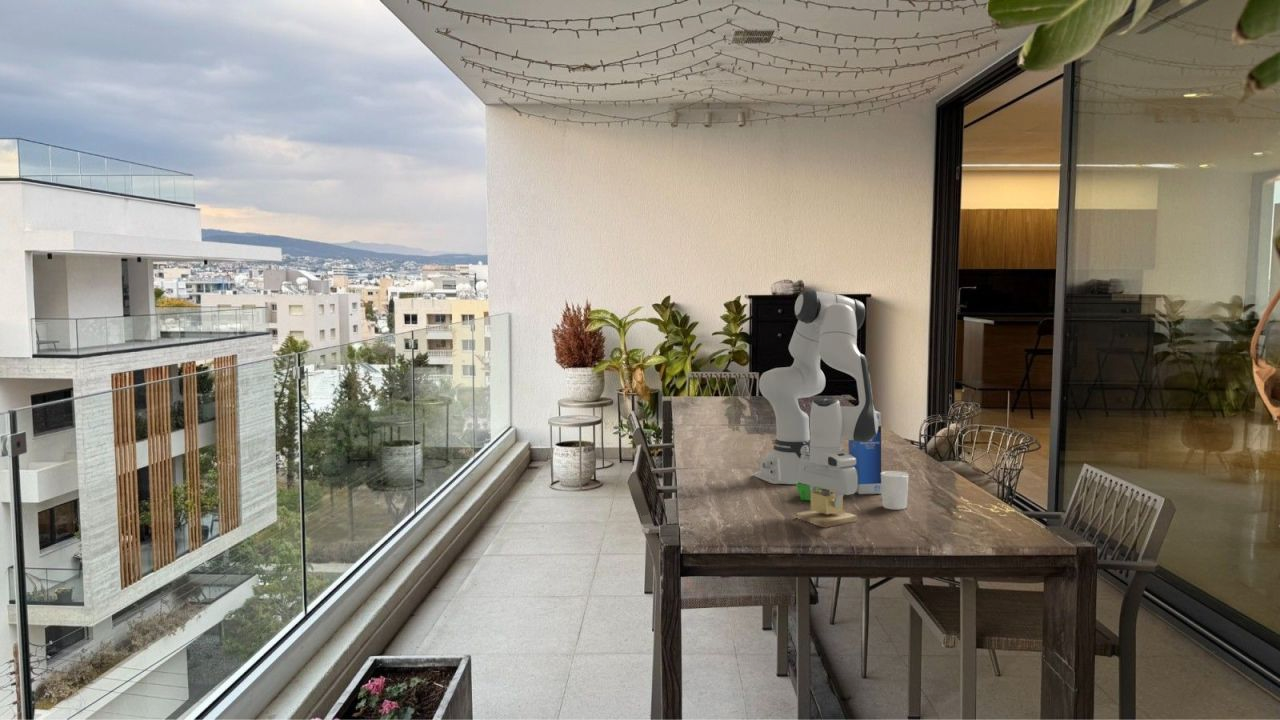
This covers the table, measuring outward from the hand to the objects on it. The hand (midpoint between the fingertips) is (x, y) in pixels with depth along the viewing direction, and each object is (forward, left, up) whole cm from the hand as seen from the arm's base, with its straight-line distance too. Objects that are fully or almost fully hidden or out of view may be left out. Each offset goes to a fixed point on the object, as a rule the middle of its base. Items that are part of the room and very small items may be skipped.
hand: (826, 504), depth 234 cm
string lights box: (-20, +35, -4) cm, 40 cm away
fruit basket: (-21, +15, -5) cm, 26 cm away
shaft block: (0, 0, -4) cm, 4 cm away
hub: (0, 0, -2) cm, 2 cm away
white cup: (+1, +26, -5) cm, 26 cm away
